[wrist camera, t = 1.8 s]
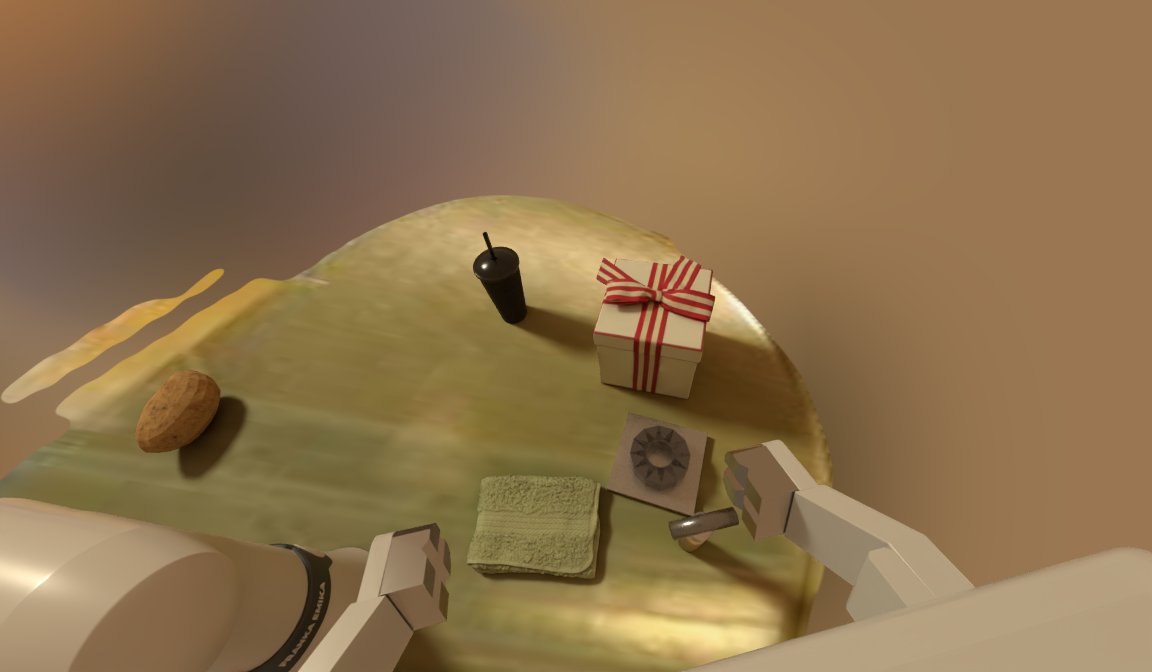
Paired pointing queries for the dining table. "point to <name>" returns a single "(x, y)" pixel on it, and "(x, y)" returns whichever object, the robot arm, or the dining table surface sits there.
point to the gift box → (653, 324)
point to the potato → (178, 412)
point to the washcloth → (537, 526)
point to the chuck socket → (659, 464)
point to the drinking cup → (502, 280)
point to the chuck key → (701, 527)
